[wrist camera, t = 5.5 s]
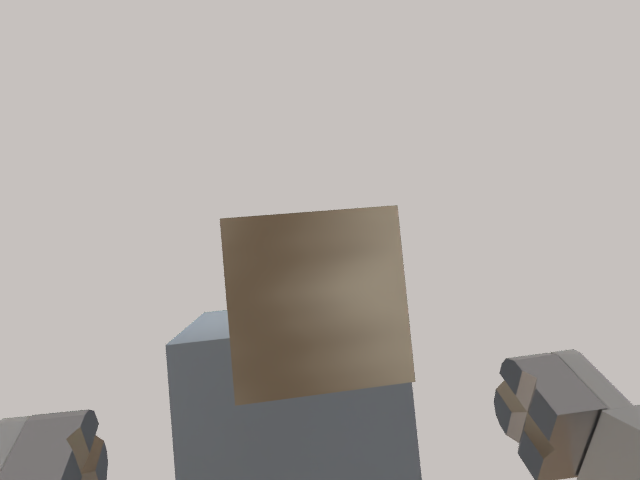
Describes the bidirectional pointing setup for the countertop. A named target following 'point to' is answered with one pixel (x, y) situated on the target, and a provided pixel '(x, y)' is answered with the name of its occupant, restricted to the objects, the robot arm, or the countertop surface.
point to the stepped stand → (280, 422)
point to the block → (316, 303)
